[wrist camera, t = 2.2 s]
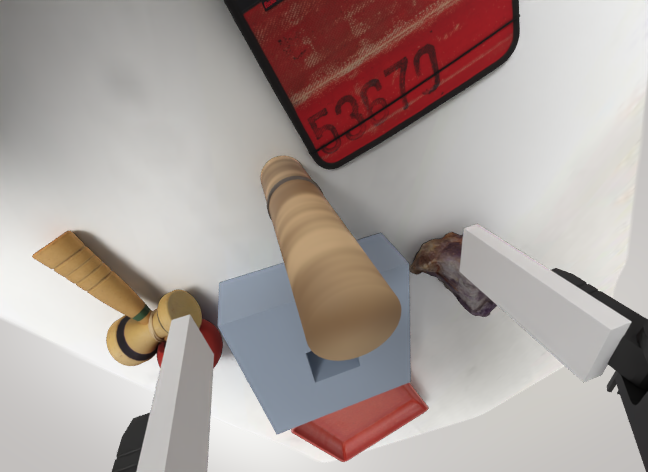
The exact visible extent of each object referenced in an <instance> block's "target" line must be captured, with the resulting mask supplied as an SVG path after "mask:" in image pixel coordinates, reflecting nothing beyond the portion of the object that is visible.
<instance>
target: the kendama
mask: <svg viewBox="0 0 648 472" xmlns="http://www.w3.org/2000/svg"><path fill="white" fill-rule="evenodd" d="M32 257H33V258H34V259H36V260H37V261H39V262H41V263H42V264H44V265H46V266H47V267H49V268H51V269H54V271H55V272H57V273H58V274H60V275H62V276H63V277H65V278H67V279H68V280H69V281H71V282H73V283H76V285H77V286H79V287H80V288H82V289H83V290H85V291H87V292H88V293H89V294H91V295H92V296H94V297H95V298H97V299H98V300H100V301H102V302H103V303H105V304H107V305H108V306H110V307H112V308H114V309H115V310H117V311H119V312H121V313H123V314H125V316H123V317H121V318H120V319H118V320H117V321H115V322H114V323H113V324H112V325H111V326H110V328H109V330H108V333H107V339H106V341H107V347H108V350H109V352H110V354H111V355H112V357H113V358H114V359H115V360H116V361H118V362H119V363H121V364H123V365H127V366H135V365H139V364H141V363H143V362H145V361H148V360H149V359H151V358H152V357H153V356H154V355H155V354H156V353H157V360H158V364H159V366H160V368H161V364H162V359H163V355H164V351H165V347H166V342H167V338H168V334H169V329H170V325H171V321H172V320H173V319H177V318H180V317H183V316H186V315H189V314H190V315H191V317H192V318H193V320H194V322H195V323H196V325H197V327H198V328H199V330H200V332H201V333H202V335H203V337H204V338H205V340H206V342H207V344H208V345H209V347H210V349H211V350H212V352H213V354H214V363H213V368H214V367H215V366H216V364H217V363H218V361H219V359H220V357H221V353H222V348H223V342H222V337H221V334H220V332H219V330H218V329H217V328H216V327H215V326H214V325H213V324H212V323H211V322H209V321H207V320H204V319H202V313H201V309H200V307H199V304H198V303H197V301H196V300H195V298H194V297H193V296H192V295H191V294H189V293H188V292H186V291H183V290H174V291H172V292H169V293H167V294H165V295H164V296H163V297H162V298H161V300H160V301H159V304H158V308H157V309H155V310H154V311H151V310H150V308H148V306H147V305H146V304H145V303H144V302H143V301H142V300H141V299H140V297H139V296H138V295H137V294H136V293H135V292H134V291H133V290H132V289H131V288H130V287H129V286H128V285H127V284H126V283H125V282H124V281H123V280H122V279H121V278H120V277H119V276H118V275H117V274H116V273H115V272H113V271H111V269H110V268H109V267H108V266H107V265H106V264H105V263H102V260H101V259H99V258H98V257H97V256H96V255H95V254H94V253H93V252H92V251H91V250H90V249H89V248H88V247H86V246H84V243H83V242H82V241H81V240H80V239H79V238H78V237H77V236H76V235H75V234H74V233H72V232H71V231H67V232H65V233H64V234H62V235H61V236H59V237H58V238H56V239H55V240H54V241H52V242H51V243H49V244H48V245H46V246H45V247H43V248H42V249H40V250H39V251H38V252H36V253H35V254H33V256H32Z"/></svg>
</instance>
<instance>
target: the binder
mask: <svg viewBox="0 0 648 472" xmlns="http://www.w3.org/2000/svg"><path fill="white" fill-rule="evenodd" d="M224 2H225V4H226V5H227V7H228V9H229V11H230V13H231V14H232V16H233V18H234V20H235V22H236V24H237V26H238V27H239V29H240V31H241V33H242V35H243V36H244V38H245V40H246V42H247V43H248V45H249V47H250V49H251V51H252V52H253V54H254V56H255V58H256V60H257V61H258V63H259V65H260V67H261V69H262V71H263V72H264V74H265V76H266V78H267V80H268V81H269V83H270V85H271V87H272V89H273V90H274V92H275V94H276V96H277V97H278V99H279V101H280V102H281V104H282V106H283V108H284V109H285V111H286V113H287V114H288V116H289V118H290V120H291V121H292V123H293V125H294V127H295V128H296V130H297V132H298V133H299V135H300V137H301V138H302V140H303V142H304V143H305V145H306V147H307V149H308V151H309V154H310V155H311V156H312V157H313V159H314V160H315V162H316V163H317V164H318V165H319V166H321V167H323V168H326V169H335V168H338V167H340V166H342V165H344V164H346V163H347V162H349V161H351V160H352V159H354V158H356V157H357V156H359V155H361V154H362V153H364V152H366V151H368V150H369V149H371V148H373V147H374V146H376V145H378V144H379V143H381V142H383V141H384V140H386V139H387V138H389V137H391V136H392V135H394V134H396V133H397V132H399V131H400V130H402V129H403V128H405V127H407V126H408V125H410V124H411V123H413V122H414V121H416V120H418V119H419V118H421V117H422V116H424V115H425V114H427V113H429V112H430V111H432V110H433V109H435V108H436V107H438V106H439V105H441V104H443V103H444V102H446V101H447V100H449V99H450V98H452V97H454V96H455V95H457V94H458V93H460V92H461V91H463V90H464V89H466V88H468V87H469V86H471V85H472V84H474V83H475V82H477V81H478V80H480V79H481V78H483V77H484V76H486V75H487V74H489V73H490V72H492V71H493V70H494V69H496V68H497V67H499V66H500V65H502V64H503V63H504V62H505V61H507V59H508V58H509V57H510V56H511V54H512V53H513V52H514V50H515V48H516V45H517V43H518V39H519V32H520V28H519V17H520V15H519V0H224Z"/></svg>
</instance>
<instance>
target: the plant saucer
mask: <svg viewBox="0 0 648 472" xmlns="http://www.w3.org/2000/svg"><path fill="white" fill-rule="evenodd" d="M428 409H429V407H428V406H427V405H426V403H425V402H424V401H423V399H422V398H421V397H420V395H419V394H418V393H417V392H416V390H415V389H414V388H413V386H412V385H411V384H410V382H409V383H407V384H404V385H401V386H399V387H396V388H394V389H391V390H389V391H386V392H384V393H381V394H379V395H376V396H374V397H371V398H368V399H366V400H363V401H361V402H358V403H356V404H353V405H351V406H348V407H346V408H343V409H341V410H338V411H335V412H333V413H330V414H328V415H325V416H323V417H320V418H318V419H315V420H313V421H310V422H308V423H305V424H302V425H300V426H297V427H295V428H292V429H291V432H292V433H293V434H295V435H297V436H299V437H300V438H302V439H304V440H305V441H307V442H309V443H310V444H312V445H313V446H316V447H317V448H319V449H320V450H322V451H324V452H326V453H327V454H329V455H331V456H333V457H335V458H336V459H338V460H340V461H341V462H345V461H348V460H349V459H351V458H353V457H354V456H356V455H357V454H359V453H361V452H362V451H364V450H365V449H367V448H369V447H370V446H372V445H373V444H375V443H377V442H378V441H380V440H381V439H383V438H385V437H386V436H388V435H389V434H391V433H393V432H394V431H396V430H397V429H399V428H400V427H402V426H404V425H405V424H407V423H408V422H410V421H412V420H413V419H415V418H416V417H418V416H420V415H421V414H423V413H424V412H426V411H427V410H428Z"/></svg>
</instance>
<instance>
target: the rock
mask: <svg viewBox="0 0 648 472" xmlns="http://www.w3.org/2000/svg"><path fill="white" fill-rule="evenodd" d="M462 240H463V235H458V234H456V233H453V232H450V233H448V234H446V235H445V237H443V238H442V239H433V240H430V241H428V242H427V243H424V244H423V245H422V246H421V249H420V251H419V252H418V253H417V255H416V257H415V260H414V262H413V263H412V265H411V266H410V267H409V270H410V272H412V273H414V274H420V273H421V272H424V273H427V274H429V275H431V276H435V277H437V278H438V280H439V281H441V282H442V283H443V284H444V286H445V287H446V288H447V289H449V290H450V291H451V292H452V293H453V294H454V295H455V296H456V298H457V299H458V301H459V302H460V303H461V305H462V306H463V307H464V308H465V309H466V310H467V311H468V312H470V313H471V314H472V315H475V316H482V317H486V316H488V315H489V314H490V312H491V311H492V310H493V309H494V308H495V307H496V306H497V305H496V304H495V303H494V302H493V301H492V300H491V299H490V298H488V297H487V296H486V295H485V294H484V293H483V292H482V291H481V290H479V289H478V288H477V287H476V286H475V285H474V284H473V283H472V282H471V281H469V280H468V279H467V278H466V277H465V276H464V275H463V274H462V273H460V261H461V251H462Z"/></svg>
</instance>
